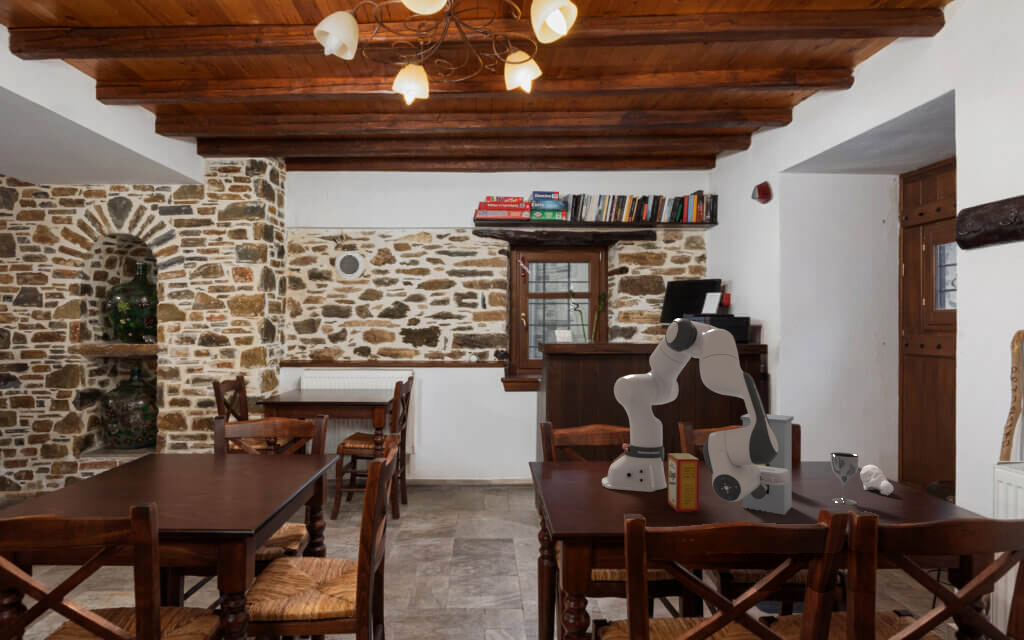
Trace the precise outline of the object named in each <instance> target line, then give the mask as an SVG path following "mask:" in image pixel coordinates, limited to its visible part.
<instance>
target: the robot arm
mask: <svg viewBox="0 0 1024 640" xmlns="http://www.w3.org/2000/svg"><path fill="white" fill-rule="evenodd" d="M734 336H735V335H733V334H732V333H731V332H730V331H728V330H726V329H724V328H718V327H716V326H713V325H711V324H707V323H702V322H699V321H694V320H690V319H688V318H683V317H682V318H675V319H674V320H672V321H671V322H670V323H669V324H668V326H667V329H666V331H665V335H664V336H663V338H662V339H661V341H660V342H659V343H658V345H657V346H656V347H655V349H654V351H653V352H652V353H651V355H650V356H649V367H650V368H651V370H650V371H648V372H647V373H639V374H638V373H637V374H628V375H624V376H621V377H619V378H618V379H616V382H615V383H614V386H613V394H614V397H615V399H616V401H617V402H618V403H619V404H620V405H621V406H622V407H623V408H624V410H625V412H626V414H627V417H628V421H629V432H630V433H629V436H630V437H629V439H630V440H629V442H630V443H623V444H622V449H623V450H624V454H623V455H622V456H621V457H619V458H618V459H617V460H615V461H613V462H612V463H611V465H610V466H609V468H608V473H607V476H606V477H603V478H602V479H601V485H602V487H603V488H604V487H605V488H606V489H609V490H610V489H611V490H623V491H634V492H647V493H651V492H655V491H657V490H663V489H666V488H668V483H667V481H666V480H667V479H666V476H665V471H664V470H665V469H664V461H665V460H664V459H665V447H664V445H663V424H662V423H663V422H662V421H661V420H660V419H659V418H657V417H656V416H655V415H654V413H653V409H652V406H658V405H664V404H668V403H671V402H673V401H675V400H676V399H677V398H678V395H679V390H680V389H679V383H678V381H677V379H678V376H679V375H680V374H681V372H682V371H683V369H684V367H686V365H687V364H688V362H690V360H691V358H694V359H699V360H698V361H699V364H698V365H699V373H700V378H701V381H702V383H703V385H704V386H705V387H706V388H707V389H709V391H711V392H714V393H717V394H719V395H723V396H730V397H736V398H740V399H743V401H744V402H743V403H745V408H746V410H747V414H749V418H750V421H751V423H750V425H749V426H747V427H743V426H742V427H739V428H732V429H726V430H719V431H714V432H710V433H709V434H708V435H707V437H706V438H705V441H704V443H703V446H702V453H703V455H702V456H703V459H704V461H705V465H706V468H707V470H708V471H709V472H710V474H711V478H712V479H711V481H712V482H711V485H712V489H713V491H714V493H715V495H717V497H718V498H720V499H721V500H723V501H726V502H732V503H733V502H738V501H741V500H743V498H745V497H746V496H747V495H749V494H750V493H751V492H753V491H754V490H755V489H756V488H758V487H759V485H760V483H762V484H769V485H777V486H780V485H784V484H786V483H788V482H789V470H787V469H783V468H776V467H768V466H762V465H756V464H770V463H771V462H772V461H773V460H774V459H775V457H776V456H777V454H778V452H779V450H778V443H777V439H776V437H775V435H774V433H773V431H772V429H771V426H770V423H769V420H768V418H767V415H766V414H767V412H766V408H765V406H764V403H763V400H762V398H761V394H760V391H759V389H758V387H757V383H756V382H755V379H754V378H753V377H752V376H751V374H750V373H748V372H745V371H743V369H742V368H741V365H740V359H739V358H740V356H739V351H738V348H737V342H736V338H735V337H734Z"/></svg>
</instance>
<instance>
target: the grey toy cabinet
mask: <svg viewBox="0 0 1024 640" xmlns="http://www.w3.org/2000/svg"><path fill="white" fill-rule="evenodd" d="M766 415H767V418H768V420H769V423H770V426H771V429H772V431H773V433H774V435H775V437H776V439H777V443H778V450H779V452H778V454H777V456H776V457H775V459H774V460H773V461H772V462H771V463H770V464H768V465H767V466H768V467H776V468H783V469H787V470H789V482H788V483H786V484H784V485H780V486H777V485H769V489H768V490H767V491H766V495H765V496H764V497H763V498H762V499H756V498H754V497H753V496H752V495H751V493H750V494H749V495H747V496H746V497H745V498H743V499H742V509H747V508H749V509H748V510H753V509H754V510H755V511H759V510H761V511H760V512H765V511H766V513H771V512H772V514H777V515H778V514H779V515H783V516H785V515H786V514H787V513H788V512H789V510H790V509H791V508H792V502H793V501H792V496H793V495H792V494H793V493H792V489H793V487H792V481H793V480H792V474H793V473H792V467H793V466H792V463H793V462H792V455H793V454H792V453H793V452H792V448H793V447H792V444H793V443H792V439H793V438H792V437H793V436H792V435H793V433H792V432H793V431H792V430H793V429H792V427H793V425H792V422H793V421H794V420H795V418H794V415H793V416H792V415H783V414H780V415H779V414H768V413H766ZM740 420H741V421H742V428H743V427H747V426H749V425H750V423H751V421H750V418H749V414H748V413H746V414H743V415H741V416H740ZM760 484H762V483H760Z"/></svg>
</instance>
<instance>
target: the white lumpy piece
mask: <svg viewBox="0 0 1024 640" xmlns="http://www.w3.org/2000/svg"><path fill="white" fill-rule="evenodd" d="M859 476H860V480H861V482H862V484H863V485H862V486H863V489H864V491H868V490H869V489H870V488H873V489H874V490H877V491H880V495H885V496H886V497H887V496H888V495H889V496H890V495H891V494H892V492H894V486H893V484H892V483H890V482H889V480H888V479H887V477H886V475H885V474H884V472H883V471H882V470H881V469H880V468H879V467H878V466H877V465H875V464H868V465H864V466H863V467H862V469H861V471H860V472H859ZM889 496H888V497H889Z"/></svg>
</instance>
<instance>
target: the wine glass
mask: <svg viewBox="0 0 1024 640" xmlns="http://www.w3.org/2000/svg"><path fill="white" fill-rule="evenodd" d="M859 460H860V459H859V455H858V454H854V453H851V452H842V451H840V452H839V451H835V452H831V453H830V464H831V469H832V472H833V473H834V474H835V476H836V477H837V478H838V479H839V480H840V482H841V486H842V497H841V498H832V499H831V501H832V502H834V503H835V504H838V505H839V504H840V505H846V506H851V505H854V504H855V505H857V504H858V501H855V500H852V499H848V498H847V495H846V494H847V486H848V483H849V481H850V480H851V479H852V478H853V477H854V476H856V475H857V472H858V469H859ZM855 505H854V506H855Z"/></svg>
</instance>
